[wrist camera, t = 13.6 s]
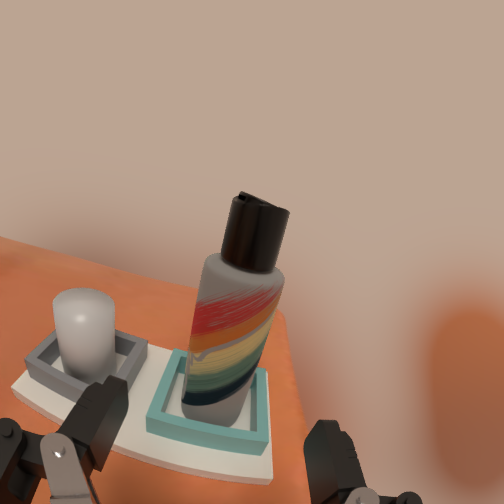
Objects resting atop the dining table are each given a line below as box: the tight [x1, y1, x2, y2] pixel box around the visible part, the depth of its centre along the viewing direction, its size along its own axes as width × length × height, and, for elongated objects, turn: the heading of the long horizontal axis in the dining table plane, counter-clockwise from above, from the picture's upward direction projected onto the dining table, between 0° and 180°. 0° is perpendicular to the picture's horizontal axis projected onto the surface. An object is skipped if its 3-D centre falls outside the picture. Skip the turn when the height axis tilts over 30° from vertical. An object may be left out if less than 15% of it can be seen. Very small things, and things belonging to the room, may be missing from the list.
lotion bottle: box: [181, 191, 290, 427], centre depth 20 cm, size 6×6×20 cm
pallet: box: [11, 288, 273, 485], centre depth 22 cm, size 25×15×10 cm, turn 89°
